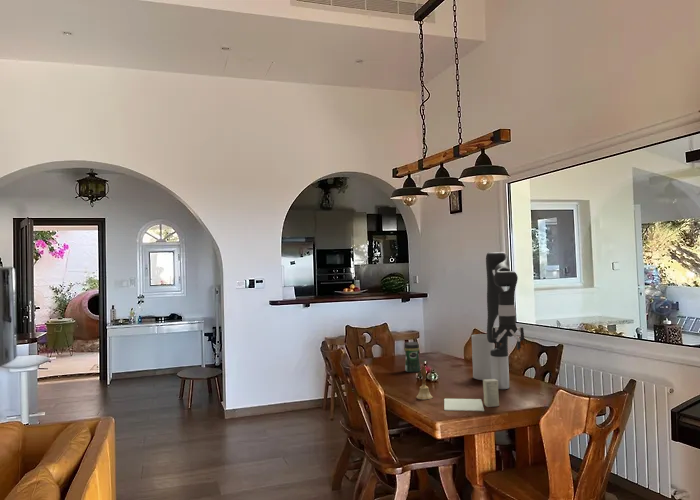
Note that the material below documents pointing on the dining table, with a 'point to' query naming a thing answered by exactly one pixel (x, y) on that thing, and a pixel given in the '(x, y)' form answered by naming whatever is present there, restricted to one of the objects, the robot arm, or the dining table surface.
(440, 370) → the dining table surface
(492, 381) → the skincare box
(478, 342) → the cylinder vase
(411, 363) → the coffee jar
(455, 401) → the mat
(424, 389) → the hand bell
